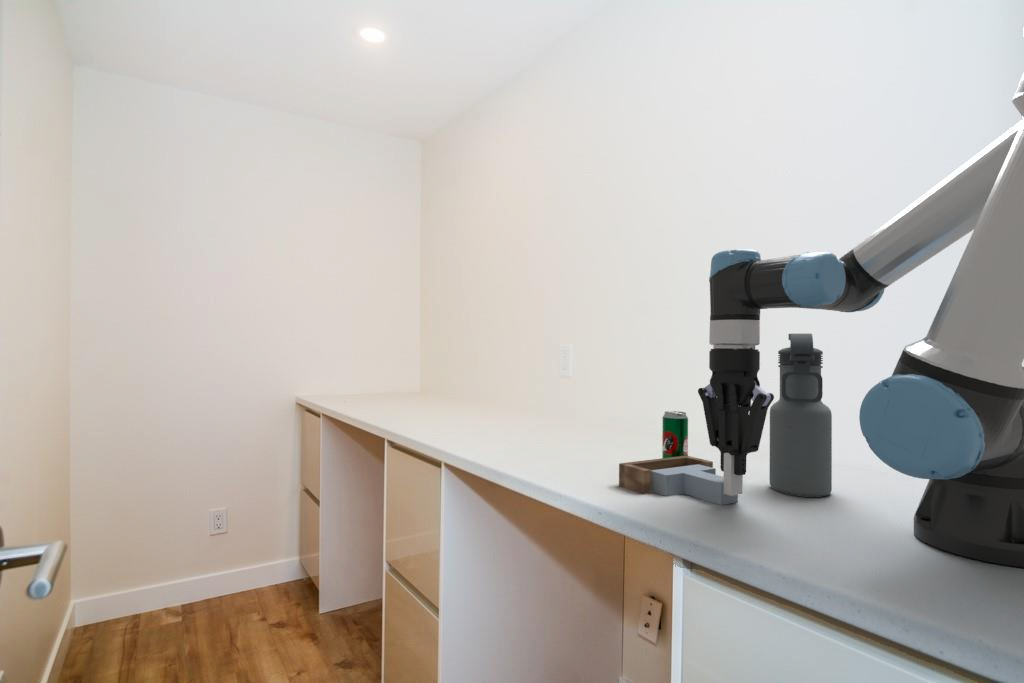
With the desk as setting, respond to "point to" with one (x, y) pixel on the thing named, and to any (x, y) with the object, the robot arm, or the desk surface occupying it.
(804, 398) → the water bottle
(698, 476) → the t block
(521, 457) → the desk surface
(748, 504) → the desk surface
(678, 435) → the soda can
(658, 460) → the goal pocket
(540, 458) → the desk surface
